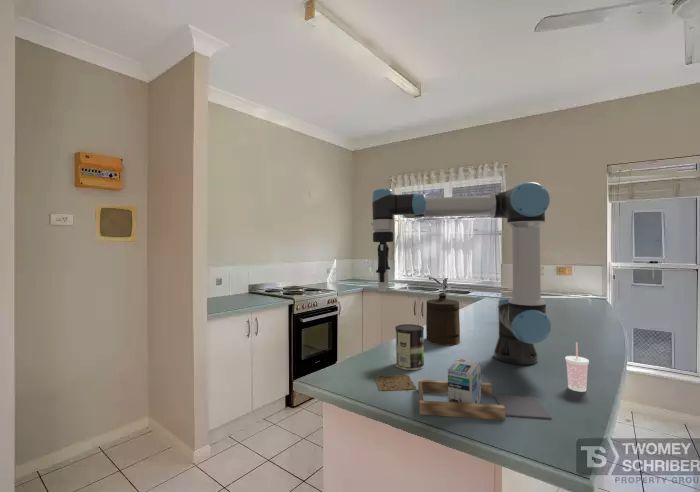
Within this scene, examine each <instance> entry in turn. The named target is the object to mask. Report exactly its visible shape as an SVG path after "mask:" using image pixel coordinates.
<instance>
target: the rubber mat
mask: <svg viewBox="0 0 700 492" xmlns="http://www.w3.org/2000/svg"><path fill="white" fill-rule="evenodd" d="M493 397H494V399H495V400H496V402H497V405H504V407H505V417H510V418H511V417H512V418H513V417H515V418H524V419H525V418H526V419H527V418H529V419H542V420H543V419H545V420H552V416H551V415H550V414H549V413H548V411H547V410H546V409H545V408H544V406H543V405H542V404H541V403H540V402H539V400H538V399H537V398H536V397H535V396H524V395H523V396H522V395H506V394H505V395H503V394H502V395H501V394H494V395H493Z"/></svg>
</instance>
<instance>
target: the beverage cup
mask: <svg viewBox="0 0 700 492" xmlns="http://www.w3.org/2000/svg"><path fill="white" fill-rule="evenodd" d="M578 343H579V342H577V341H575V355H566V356H565V361H566V372H567V373H566V375H567V387H568V389H569V390H571V391H575V392H581V393H584V392H586V391H587V385H588V384H587V383H588V369H589V368H588V367H589V364H590V361H589V359H588V358H586V357H582V356H579V348H578V345H579V344H578Z"/></svg>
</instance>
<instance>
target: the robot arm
mask: <svg viewBox="0 0 700 492" xmlns="http://www.w3.org/2000/svg"><path fill="white" fill-rule="evenodd" d="M550 202H551V197H550V194H549V191H548V190H547V189H546V188H545V187H544V186H543V185H542V184H540V183H538V182H533V181H528V182H523V183H519V184H517V185H515V186H514V187H513V188H511V189H509V190H506V191H501V192H492V193H490V194H489V195H477V196H476V195H474V196H472V195H471V196H469V195H468V196H448V197H447V196H445V197H427V195H425V194H424V193H406V194H403V193H402V194H394V192H393V189H391V188H379V189H375V190H374V191H372V201H371V203H372V222H371V223H370V225H371V226H372V230H373V231H374V232H373V233H372V242H373V243H379V244H378V245H377V269H376V270H375V272H376V273H377V276H378V277H377V278H378V279H377V280H378V281H377V284H378V292H387V288H389V284H390V283H389V270H391V267H390V266H389V256H390V255H389V253H390V252H389V251H390V247H389V246H388V244H387V243H393V242H394V232H393V231H394V216H404V217H405V218H407V219H413V218H428V217H429V218H430V217H431V218H433V217H466V216H467V217H470V216H471V217H472V216H473V217H476V216H479V217H480V216H481V217H482V216H489V217H490V218H492V219H506V220H507V221H506V222H507V223H506V224H507V225H508V226H510V227H511V233H512V234H511V240H512V241H511V245H512V246H511V248H512V249H511V250H512V259H511V260H512V297H511V298H500V299H499V300H498V305H497V308H498V311H497V312H498V338H497V341H496V345H495V347H494V350H493V354H494V355H493V357H494V358H495V359H496V360H498V361H500V362H504V363H507V364H512V365H525V366H528V365H535V364H537V363H538V362H539V360H538V359H539V358H538V357H539V355H538V352H537V349H536V347H535V344H536V345H537V344H540V343H542V342H544V341H545V340H547V338H548V337H549V335H550V334H551V331H552V323H551V320H550V318H549V317H548V315H547V303H546V301H545V300H544V299H543V298H542V296H541V295H542V293H541V290H542V289H541V286H542V283H541V282H542V281H541V226H543V225H544V224H545V223H546V211H547V209H548V208H549V207H550Z"/></svg>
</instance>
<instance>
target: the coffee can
mask: <svg viewBox="0 0 700 492" xmlns="http://www.w3.org/2000/svg"><path fill="white" fill-rule="evenodd" d="M424 330H425V329H424V326H422V325H420V324H413V323H412V324H411V323H410V324H409V323H405V324H398V325H396V326H395V353H396V354H395V355H396V357H395V358H396V359H395V360H396V362H395V366H396V368H398V369H401V370H404V371H419V370H422V369H424V368H425V353H424V352H425V349H424V348H425V341H424V339H425V338H424V332H425V331H424Z"/></svg>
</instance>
